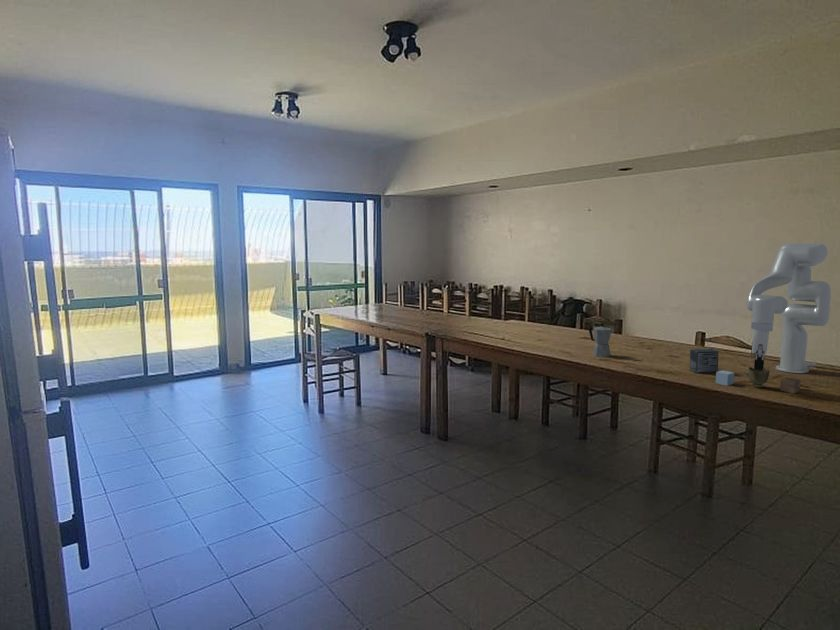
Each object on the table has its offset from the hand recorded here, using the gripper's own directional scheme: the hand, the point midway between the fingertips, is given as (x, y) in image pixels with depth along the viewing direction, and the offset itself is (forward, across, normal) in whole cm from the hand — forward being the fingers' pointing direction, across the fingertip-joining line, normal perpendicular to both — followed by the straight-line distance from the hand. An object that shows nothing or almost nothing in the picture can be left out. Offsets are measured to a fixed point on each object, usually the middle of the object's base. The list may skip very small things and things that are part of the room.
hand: (758, 367), depth 213 cm
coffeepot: (+9, -31, -73) cm, 80 cm away
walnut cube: (+9, 0, +11) cm, 14 cm away
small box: (+9, -19, -22) cm, 30 cm away
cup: (+9, 0, 0) cm, 9 cm away
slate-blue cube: (+9, 0, -12) cm, 15 cm away
